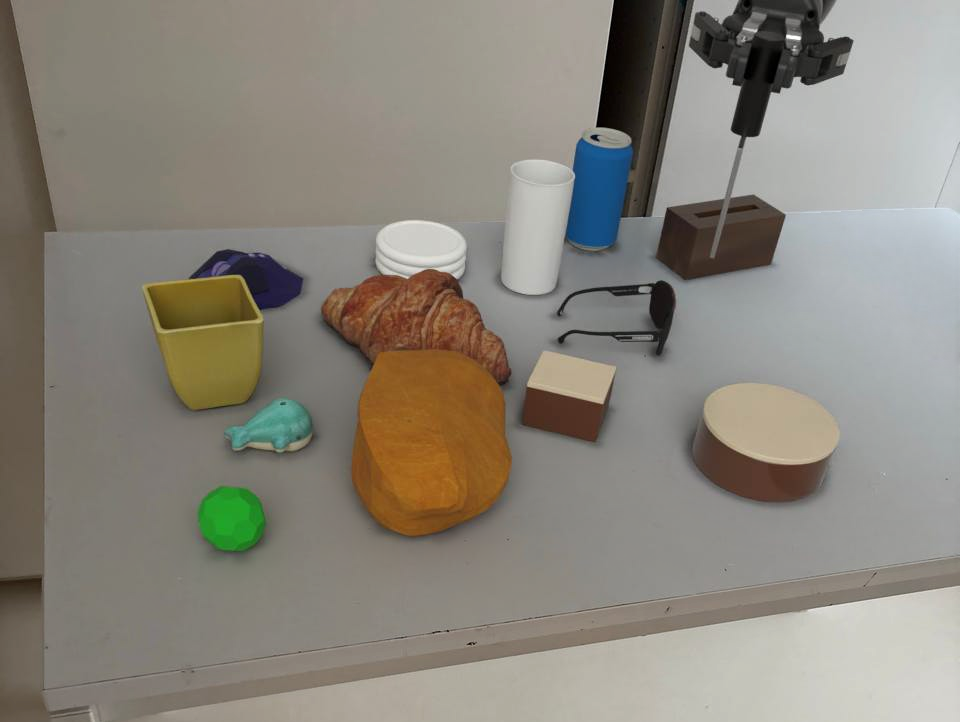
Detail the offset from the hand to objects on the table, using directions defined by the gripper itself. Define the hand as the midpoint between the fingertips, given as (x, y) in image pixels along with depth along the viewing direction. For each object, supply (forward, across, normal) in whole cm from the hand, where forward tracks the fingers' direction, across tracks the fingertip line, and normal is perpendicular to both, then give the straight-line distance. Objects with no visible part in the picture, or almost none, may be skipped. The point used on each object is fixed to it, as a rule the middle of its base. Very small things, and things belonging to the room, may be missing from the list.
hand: (760, 75), depth 76 cm
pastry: (+2, -26, +29) cm, 39 cm away
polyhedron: (+35, -30, +29) cm, 54 cm away
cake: (+7, +9, +29) cm, 31 cm away
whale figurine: (+22, -32, +29) cm, 49 cm away
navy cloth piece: (-2, -46, +29) cm, 55 cm away
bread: (+21, -17, +29) cm, 40 cm away
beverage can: (-31, -15, +29) cm, 45 cm away
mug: (-19, -19, +29) cm, 40 cm away
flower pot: (+16, -40, +29) cm, 52 cm away
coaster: (-15, -31, +29) cm, 45 cm away
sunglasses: (-10, -8, +29) cm, 32 cm away
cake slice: (+7, -9, +29) cm, 31 cm away
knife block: (-33, 0, +29) cm, 44 cm away
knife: (-3, 0, +14) cm, 14 cm away
